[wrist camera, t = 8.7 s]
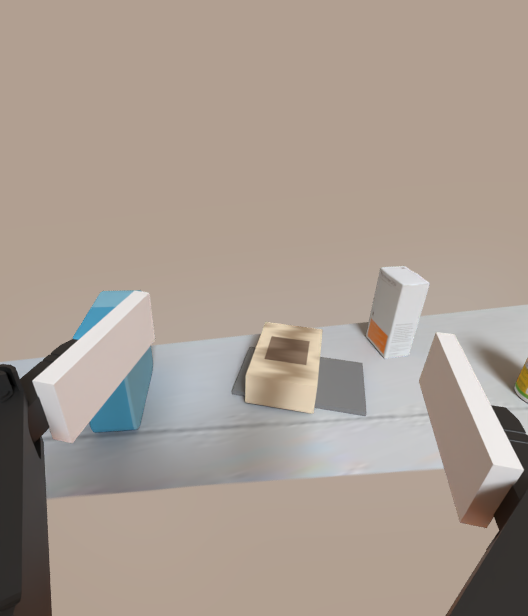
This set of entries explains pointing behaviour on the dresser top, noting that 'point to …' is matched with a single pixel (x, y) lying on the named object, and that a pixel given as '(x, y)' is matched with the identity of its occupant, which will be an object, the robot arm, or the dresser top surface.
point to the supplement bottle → (522, 383)
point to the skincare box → (396, 310)
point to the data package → (133, 389)
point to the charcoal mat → (327, 385)
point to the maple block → (285, 368)
